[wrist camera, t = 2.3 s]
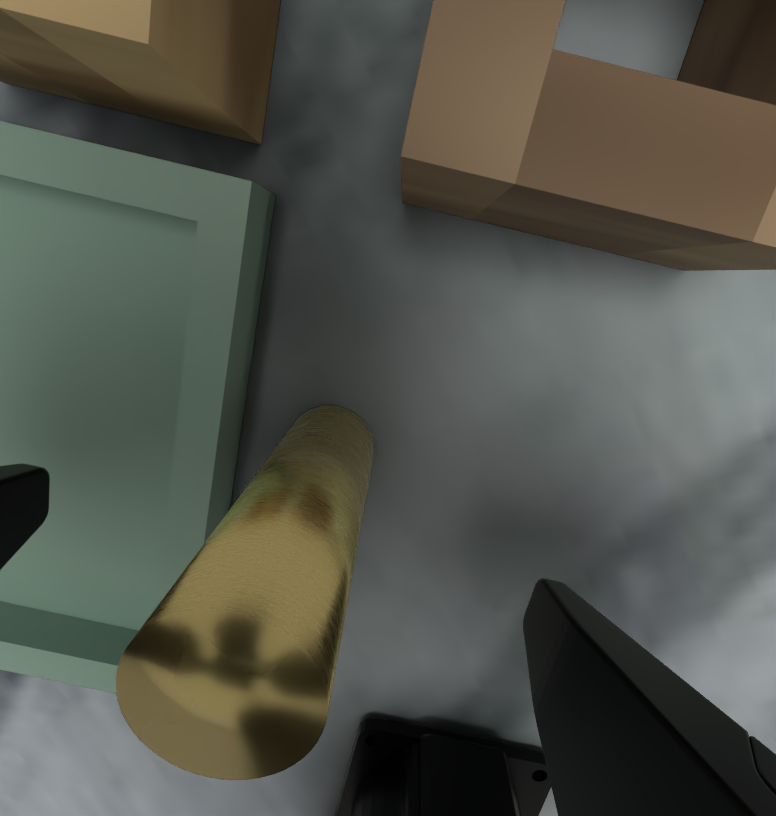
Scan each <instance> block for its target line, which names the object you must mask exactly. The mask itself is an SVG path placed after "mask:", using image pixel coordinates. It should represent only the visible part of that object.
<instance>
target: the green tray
mask: <svg viewBox="0 0 776 816" xmlns="http://www.w3.org/2000/svg"><path fill="white" fill-rule="evenodd" d="M275 196H276V195H274V194H272V193H271V192H269V191H267V190H266V189H264V188H262V187H261V186H259V185H257V184H256V183H254V182H252V181H249V180H245V179H241V178H237V177H233V176H228V175H224V174H220V173H216V172H212V171H207V170H203V169H199V168H195V167H191V166H187V165H182V164H178V163H174V162H170V161H166V160H162V159H157V158H153V157H149V156H145V155H141V154H137V153H132V152H128V151H124V150H120V149H116V148H111V147H107V146H103V145H99V144H95V143H91V142H86V141H82V140H78V139H74V138H70V137H66V136H61V135H57V134H53V133H49V132H45V131H40V130H36V129H32V128H28V127H24V126H20V125H15V124H11V123H7V122H3V121H0V466H5V465H12V464H19V463H24V464H29V465H34V466H38V467H42V468H45V469H46V470H47V471H48V472H49V475H50V490H49V511H48V515H47V517H46V519H45V521H44V523H43V524H42V525H41V526H40V527H39V528H38V530H37V531H36V532H35V533H34V534H33V535H32V536H31V537H30V538H29V539H28V541H27V542H26V543H25V544H24V545H23V546H22V547H21V548H20V549H19V550H18V551H17V553H16V554H15V555H14V556H13V557H12V558H11V559H10V560H9V561H8V562H7V563H6V565H5V566H4V567H3V568H2V569H1V570H0V670H5V671H10V672H15V673H19V674H24V675H29V676H34V677H39V678H43V679H48V680H53V681H58V682H63V683H67V684H72V685H77V686H82V687H87V688H91V689H96V690H101V691H106V692H110V693H115V694H116V673H117V667H118V665H119V662H120V659H121V656H122V655H123V653H124V651H125V649H126V647H127V646H128V645H129V643H130V642H131V641H132V639H133V638H134V637H135V635H136V634H137V633H138V631H139V630H140V629H141V627H142V626H143V625H144V623H145V622H146V621H147V619H148V618H149V617H150V615H151V614H152V613H153V611H154V610H155V609H156V607H157V606H158V605H159V603H160V602H161V601H162V599H163V598H164V597H165V595H166V594H167V593H168V591H169V590H170V589H171V587H172V586H173V585H174V583H175V582H176V581H177V579H178V578H179V577H180V575H181V574H182V573H183V571H184V570H185V568H186V567H187V566H188V564H189V563H190V562H191V560H192V559H193V558H194V556H195V555H196V554H197V552H198V551H199V550H200V548H201V547H202V546H203V544H204V543H205V542H206V540H207V539H208V538H209V536H210V535H211V534H212V532H213V531H214V530H215V528H216V527H217V526H218V524H219V523H220V522H221V520H222V519H223V518H224V516H225V515H226V514H227V512H228V511H229V510H230V504H231V497H232V490H233V483H234V476H235V469H236V463H237V456H238V449H239V442H240V435H241V428H242V422H243V415H244V408H245V401H246V394H247V387H248V381H249V374H250V367H251V360H252V353H253V346H254V340H255V333H256V326H257V319H258V312H259V306H260V299H261V292H262V285H263V278H264V271H265V265H266V258H267V251H268V244H269V237H270V230H271V224H272V217H273V210H274V203H275Z"/></svg>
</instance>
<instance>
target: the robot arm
mask: <svg viewBox="0 0 776 816" xmlns="http://www.w3.org/2000/svg"><path fill="white" fill-rule="evenodd" d="M49 490H50V475H49V472H48V471H47V470H46V469H45V468H42V467H38V466H34V465H29V464H24V463H19V464H12V465H5V466H0V570H1V569H2V568H3V567H4V566H5V565H6V563H7V562H8V561H9V560H10V559H11V558H12V557H13V556H14V555H15V554H16V553H17V551H18V550H19V549H20V548H21V547H22V546H23V545H24V544H25V543H26V542H27V541H28V539H29V538H30V537H31V536H32V535H33V534H34V533H35V532H36V531H37V530H38V528H39V527H40V526H41V525H42V524H43V523H44V521H45V519H46V517H47V515H48V511H49ZM523 631H524V638H525V646H526V654H527V662H528V670H529V677H530V685H531V693H532V700H533V707H534V713H535V718H536V722H537V727H538V731H539V736H540V740H541V744H542V748H543V753H541V752H537V751H532V750H528V749H523V748H518V747H513V746H509V745H504V744H499V743H494V742H490V741H485V740H480V739H475V738H471V737H466V736H461V735H456V734H452V733H447V732H442V731H437V730H433V729H428V728H423V727H418V726H414V725H409V724H404V723H399V722H395V721H390V720H385V719H380V718H368V719H365V720H364V721H362V722H361V724H360V725H359V728H358V732H357V735H356V739H355V743H354V746H353V750H352V754H351V757H350V761H349V765H348V768H347V772H346V776H345V780H344V783H343V787H342V791H341V794H340V798H339V802H338V805H337V809H336V813H335V816H538V815H539V813H540V811H541V808H542V806H543V804H544V802H545V799H546V797H547V795H548V793H549V790H550V788H551V786H552V791H553V795H554V799H555V803H556V808H557V812H558V816H776V754H775V753H773V752H772V751H771V750H770V749H768V748H767V747H766V746H765V745H764V744H762V743H761V742H760V741H759V740H757V739H756V738H755V737H753V736H750V737H749V734H748V732H747V731H746V730H745V729H743V728H742V727H741V726H740V725H739V724H737V723H736V722H735V721H734V720H732V719H731V718H730V717H729V716H727V715H726V714H725V713H724V712H722V711H721V710H720V709H719V708H717V707H716V706H715V705H714V704H712V703H711V702H710V701H709V700H708V699H706V698H705V697H704V696H703V695H701V694H700V693H699V692H698V691H696V690H695V689H694V688H693V687H691V686H690V685H689V684H688V683H686V682H685V681H684V680H683V679H681V678H680V677H679V676H678V675H677V674H675V673H674V672H673V671H672V670H670V669H669V668H668V667H667V666H665V665H664V664H663V663H662V662H660V661H659V660H658V659H657V658H655V657H654V656H653V655H652V654H651V653H649V652H648V651H647V650H646V649H644V648H643V647H642V646H641V645H639V644H638V643H637V642H636V641H634V640H633V639H632V638H631V637H629V636H628V635H627V634H626V633H624V632H623V631H622V630H621V629H620V628H618V627H617V626H616V625H615V624H613V623H612V622H611V621H610V620H608V619H607V618H606V617H605V616H603V615H602V614H601V613H600V612H598V611H597V610H596V609H595V608H593V607H592V606H591V605H590V604H589V603H587V602H586V601H585V600H584V599H582V598H581V597H580V596H579V595H577V594H576V593H575V592H574V591H572V590H571V589H570V588H569V587H567V586H566V585H565V584H564V583H561V582H558V581H554V580H549V579H544V578H542V579H540V580H538V582H537V583H536V585H535V587H534V590H533V593H532V596H531V598H530V601H529V604H528V607H527V609H526V612H525V615H524V620H523Z"/></svg>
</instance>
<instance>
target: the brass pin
mask: <svg viewBox="0 0 776 816" xmlns="http://www.w3.org/2000/svg"><path fill="white" fill-rule="evenodd" d="M373 456H374V440H373V437H372V434H371V431H370V429H369V428H368V426H367V425H366V423H365V422H364V421H363V420H362V419H361V418H360V417H359V416H358V415H356V414H355V413H353V412H352V411H350V410H348V409H345V408H342V407H338V406H320V407H316V408H313V409H310V410H309V411H307V412H305V413H304V414H302V415H301V416H300V417H299V418H298V419H297V420H296V422H295V423H294V424H293V425H292V427H291V428H290V429H289V431H288V432H287V433H286V435H285V436H284V437H283V439H282V440H281V441H280V443H279V444H278V445H277V447H276V448H275V449H274V451H273V452H272V453H271V455H270V456H269V458H268V459H267V460H266V462H265V463H264V464H263V466H262V467H261V468H260V470H259V471H258V472H257V474H256V475H255V476H254V478H253V479H252V480H251V482H250V483H249V484H248V486H247V487H246V488H245V490H244V491H243V492H242V494H241V495H240V496H239V498H238V499H237V500H236V502H235V503H234V504H233V506H232V507H231V508H230V510H229V511H228V512H227V514H226V515H225V516H224V518H223V519H222V520H221V522H220V523H219V524H218V526H217V527H216V528H215V530H214V531H213V532H212V534H211V535H210V536H209V538H208V539H207V540H206V542H205V543H204V544H203V546H202V547H201V548H200V550H199V551H198V552H197V554H196V555H195V556H194V558H193V559H192V560H191V562H190V563H189V564H188V566H187V567H186V568H185V570H184V571H183V573H182V574H181V575H180V577H179V578H178V579H177V581H176V582H175V583H174V585H173V586H172V587H171V589H170V590H169V591H168V593H167V594H166V595H165V597H164V598H163V599H162V601H161V602H160V603H159V605H158V606H157V607H156V609H155V610H154V611H153V613H152V614H151V615H150V617H149V618H148V619H147V621H146V622H145V623H144V625H143V626H142V627H141V629H140V630H139V631H138V633H137V634H136V635H135V637H134V638H133V639H132V641H131V642H130V643H129V645H128V646H127V647H126V649H125V651H124V653H123V655H122V656H121V659H120V662H119V665H118V667H117V673H116V694H117V700H118V703H119V706H120V709H121V712H122V714H123V716H124V718H125V720H126V722H127V723H128V725H129V726H130V728H131V729H132V731H133V732H134V733H135V734H136V736H137V737H138V738H139V739H140V740H141V741H142V742H143V743H144V744H145V745H146V746H147V747H148V748H149V749H150V750H152V751H153V752H154V753H156V754H157V755H158V756H160V757H161V758H163V759H165V760H166V761H168V762H170V763H171V764H173V765H175V766H178V767H180V768H182V769H184V770H187V771H190V772H192V773H195V774H199V775H202V776H206V777H211V778H218V779H227V780H247V779H255V778H261V777H265V776H269V775H273V774H275V773H278V772H280V771H283V770H285V769H287V768H289V767H291V766H292V765H294V764H296V763H297V762H298V761H300V760H301V759H302V758H304V757H305V756H306V755H307V754H308V753H309V752H310V751H311V750H312V748H313V747H314V746H315V744H316V743H317V742H318V740H319V738H320V736H321V734H322V732H323V729H324V727H325V724H326V719H327V713H328V708H329V702H330V697H331V691H332V685H333V680H334V674H335V669H336V663H337V657H338V652H339V646H340V641H341V635H342V629H343V624H344V618H345V613H346V607H347V602H348V596H349V590H350V585H351V579H352V574H353V568H354V562H355V557H356V551H357V546H358V540H359V534H360V529H361V523H362V518H363V512H364V506H365V501H366V495H367V490H368V484H369V478H370V473H371V467H372V462H373Z"/></svg>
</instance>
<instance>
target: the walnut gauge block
mask: <svg viewBox="0 0 776 816" xmlns="http://www.w3.org/2000/svg"><path fill="white" fill-rule="evenodd" d="M565 2H566V0H433V5H432V9H431V14H430V19H429V23H428V28H427V33H426V38H425V42H424V47H423V52H422V57H421V61H420V66H419V71H418V76H417V80H416V85H415V90H414V95H413V99H412V104H411V109H410V114H409V118H408V123H407V128H406V133H405V137H404V142H403V147H402V152H401V177H402V199H403V203H406V204H410V205H414V206H418V207H423V208H427V209H431V210H435V211H439V212H443V213H448V214H452V215H456V216H460V217H464V218H468V219H473V220H477V221H481V222H485V223H489V224H493V225H498V226H502V227H506V228H510V229H514V230H518V231H522V232H527V233H531V234H535V235H539V236H543V237H547V238H552V239H556V240H560V241H564V242H568V243H572V244H577V245H581V246H585V247H589V248H593V249H597V250H602V251H606V252H610V253H614V254H618V255H622V256H626V257H631V258H635V259H639V260H643V261H647V262H651V263H656V264H660V265H664V266H668V267H672V268H676V269H681V270H685V271H687V270H773V269H776V0H705V2H704V5H703V8H702V11H701V14H700V17H699V20H698V22H697V25H696V28H695V31H694V34H693V37H692V40H691V43H690V46H689V48H688V51H687V54H686V57H685V60H684V63H683V66H682V69H681V71H680V74H679V77H678V80H673V79H669V78H665V77H661V76H657V75H653V74H649V73H645V72H641V71H637V70H633V69H629V68H625V67H621V66H617V65H613V64H609V63H605V62H601V61H597V60H593V59H589V58H585V57H581V56H577V55H573V54H569V53H565V52H561V51H557V50H553V45H554V41H555V38H556V34H557V31H558V27H559V23H560V20H561V16H562V13H563V9H564V5H565Z"/></svg>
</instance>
